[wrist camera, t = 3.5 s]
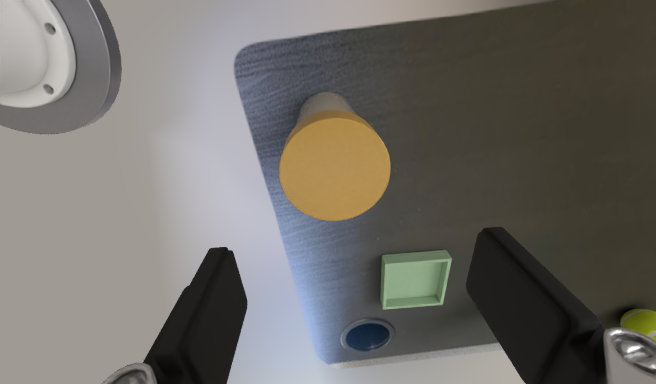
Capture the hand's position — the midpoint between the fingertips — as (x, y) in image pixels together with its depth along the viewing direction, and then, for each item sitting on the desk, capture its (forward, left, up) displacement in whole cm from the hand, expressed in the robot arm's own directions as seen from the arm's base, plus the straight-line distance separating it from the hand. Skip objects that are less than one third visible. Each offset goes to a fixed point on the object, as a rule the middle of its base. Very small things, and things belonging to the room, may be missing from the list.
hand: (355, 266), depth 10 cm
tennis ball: (+54, -39, -24) cm, 71 cm away
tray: (+12, -25, -23) cm, 36 cm away
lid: (0, 0, -9) cm, 9 cm away
